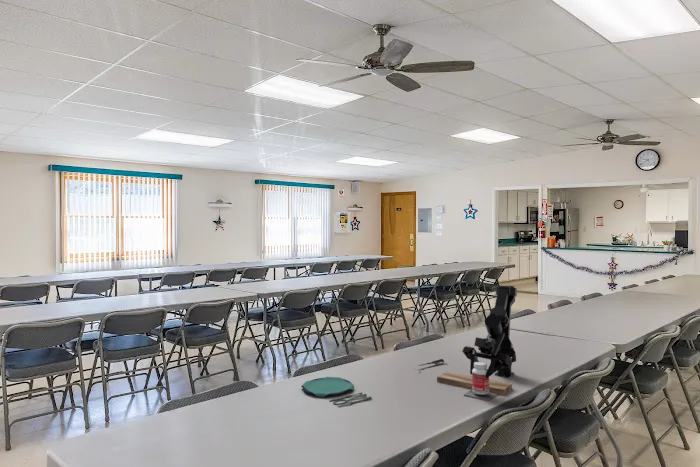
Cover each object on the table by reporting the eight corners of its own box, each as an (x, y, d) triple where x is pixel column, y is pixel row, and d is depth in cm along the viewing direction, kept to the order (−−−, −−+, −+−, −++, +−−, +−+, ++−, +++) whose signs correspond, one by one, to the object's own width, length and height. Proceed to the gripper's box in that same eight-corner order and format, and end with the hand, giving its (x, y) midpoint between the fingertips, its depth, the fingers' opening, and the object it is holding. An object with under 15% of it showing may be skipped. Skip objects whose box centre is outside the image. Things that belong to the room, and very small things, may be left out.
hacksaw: (441, 361, 232) (441, 358, 232) (456, 366, 223) (456, 363, 223) (401, 369, 220) (401, 366, 220) (415, 375, 211) (415, 372, 211)
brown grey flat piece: (447, 376, 207) (447, 371, 207) (512, 388, 190) (512, 383, 190) (426, 387, 193) (426, 382, 193) (494, 402, 176) (494, 396, 176)
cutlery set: (336, 378, 207) (336, 373, 207) (377, 400, 182) (376, 394, 182) (294, 388, 197) (294, 382, 197) (331, 412, 171) (330, 406, 171)
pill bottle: (487, 396, 179) (486, 366, 179) (470, 393, 182) (469, 364, 182) (491, 390, 184) (490, 362, 184) (474, 388, 187) (474, 360, 187)
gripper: (464, 325, 192) (448, 359, 185) (507, 332, 179) (492, 369, 171) (475, 341, 198) (460, 374, 190) (518, 349, 184) (504, 385, 177)
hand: (478, 375), depth 182 cm, fingers closed on pill bottle, 6 cm apart
